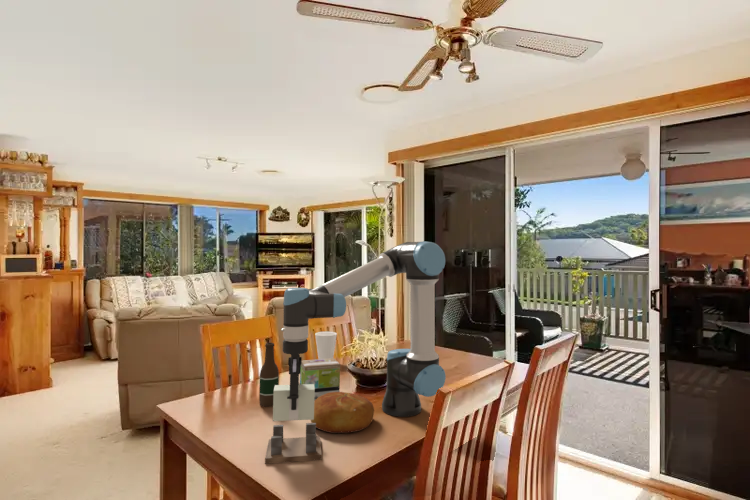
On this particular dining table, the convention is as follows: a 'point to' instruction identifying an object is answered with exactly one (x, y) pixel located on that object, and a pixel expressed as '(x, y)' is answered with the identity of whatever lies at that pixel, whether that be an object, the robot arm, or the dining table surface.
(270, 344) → the beer bottle
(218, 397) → the dining table surface
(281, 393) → the cream flat block
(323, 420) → the bread
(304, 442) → the grey slab holder
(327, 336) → the cup
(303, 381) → the tea box
